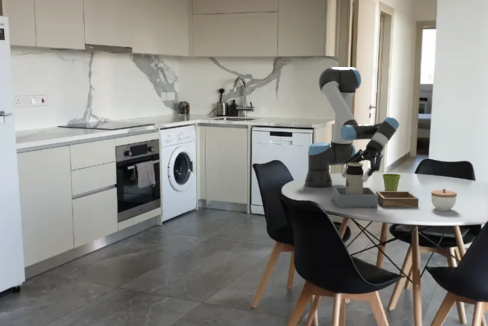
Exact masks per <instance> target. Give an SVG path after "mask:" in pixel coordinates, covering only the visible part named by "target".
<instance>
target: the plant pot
mask: <svg viewBox="0 0 488 326" xmlns="http://www.w3.org/2000/svg"><path fill="white" fill-rule="evenodd" d="M381 176H382V178H383V186H384V191H398V186H399V182H400V178H401V174H398V173H383V174H382V175H381Z"/></svg>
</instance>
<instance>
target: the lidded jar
mask: <svg viewBox="0 0 488 326" xmlns="http://www.w3.org/2000/svg"><path fill="white" fill-rule="evenodd" d="M430 195H431V197H430V198H431V202H432V205H433V207H434V208H435V209H436V210H437V211H442V212H443V211H444V212H448V211H451V209H453V208H454V206H455V205H456V202H457V195H458V194H457V192H455V191H453V190H446V188H442V189H439V190H438V189H436V190H432V191H431V194H430Z"/></svg>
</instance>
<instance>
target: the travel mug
mask: <svg viewBox="0 0 488 326" xmlns="http://www.w3.org/2000/svg"><path fill="white" fill-rule="evenodd" d="M347 165H348V168H347V170H346V177H345V187H346V195H363V187H364V181H363V180H362V177H363V176H364V173H365V172H364V169H363V166H364V163H361V162H359V163H347V164H346V166H347Z"/></svg>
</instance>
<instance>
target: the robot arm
mask: <svg viewBox="0 0 488 326" xmlns="http://www.w3.org/2000/svg"><path fill="white" fill-rule="evenodd" d="M361 77H362V76H361V73H360V72H359V70H358V69H357V68H356V67H349V66H345V67H343V66H342V67H337V66H336V67H333V66H332V67H327V68H325V69H324V70H323V71H322V72H321V73H320V76H319V79H318V87H319V89H320V92H321V94H323V96H325V97H326V99H327V101H328V103H329V105H330V106H331V108H332V109H331V110H332V111H333V113H334V114H335V116H334V132H333V138H332V139H331V140H330V142H328V141H327V142H325V141H322V142H315V143H314V142H313V143H311V144H310V145H309V146H308V152H307V154H308V160H307V162H308V165H307V166H308V167H307V168H308V169H307V174H306V176H305V179H304V185H305V186H306V187H311V188H328V187H332V186H333V180H332V177H331V172H330V166H345V165H346V166H345V167H344V168H343V171H342V172H341V174H340V175H341V176H342V178H344V179H346V170H347V168H348V165H347V163H361V162H364V161H369V164H370V167H368V168H367V170H366V171H365V172H364V173H363V177H362V180H363V183H367V181H368V179H369V178H370V177H371V176H372V175H373V173H375V172H376V171H377V172H379V171H380V167H381V163H382V162H381V161H382V158H383V157H384V155H383V153H382V152H383V151H384V148H386V146H387V145H388V143H389V141H390V140H391V138H392V137H393V136H394V135H395V133H396V132H397V130H398V128H399V127H400V123H399V121H398V120H397V119H396V118H394V117H391V116H387V117H385V118H384V119H383V120H382V121H383V122H378V123H368V124H367V123H366V124H359V123H358V121H357V120H356V118H355V116H354V115H353V112H352V107H353V96H354V95H355V94H356V92H357V91H356V90H357V89H359V88H360V86H361V83H362V78H361ZM356 140H357V141H358V140H359V141H360V140H361V141H362V140H369V141H368V143H367V144H366V147H365V150H363V149H361V148H360V149H358V151H357V152H356V147H355V145H354V144H353V141H356Z"/></svg>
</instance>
